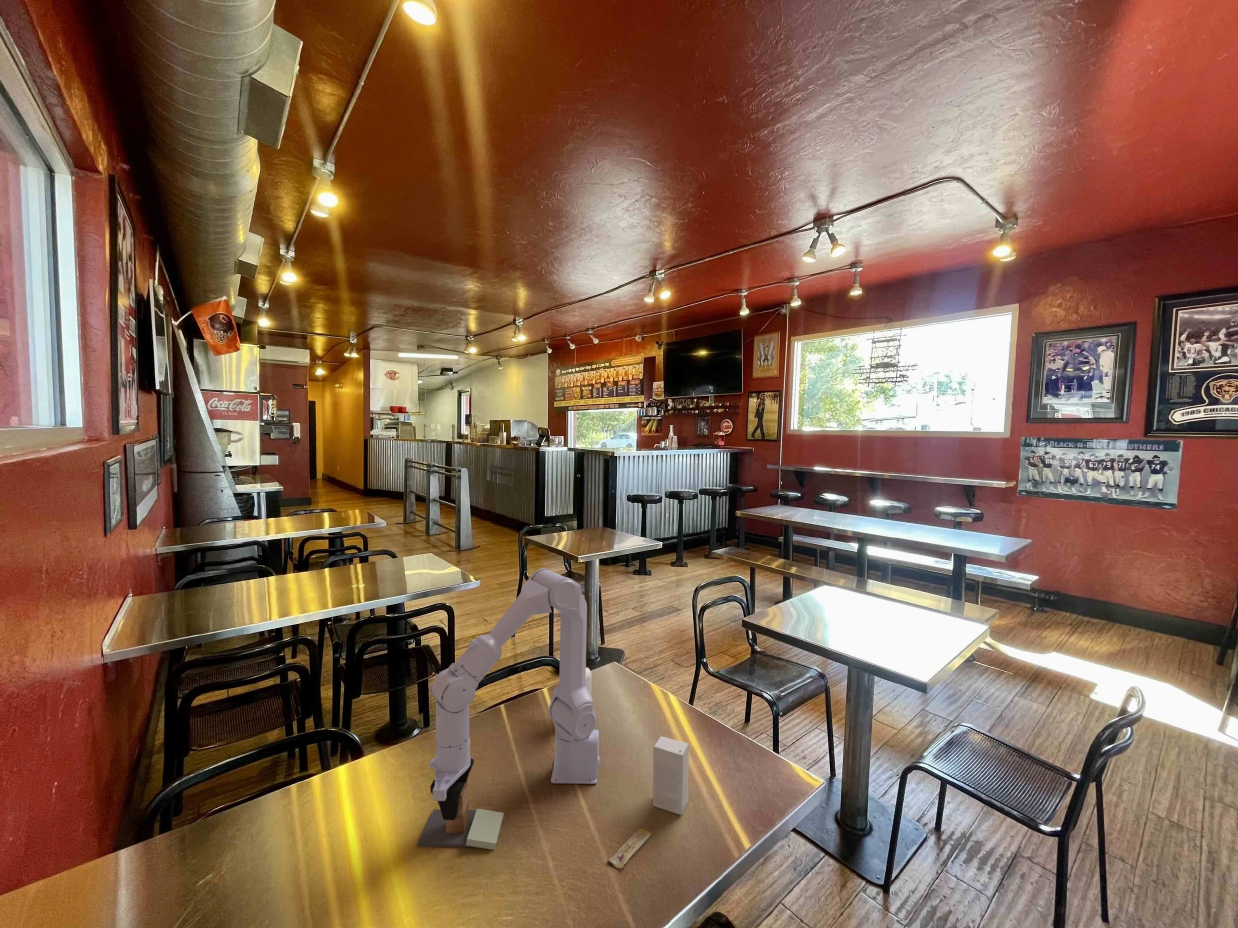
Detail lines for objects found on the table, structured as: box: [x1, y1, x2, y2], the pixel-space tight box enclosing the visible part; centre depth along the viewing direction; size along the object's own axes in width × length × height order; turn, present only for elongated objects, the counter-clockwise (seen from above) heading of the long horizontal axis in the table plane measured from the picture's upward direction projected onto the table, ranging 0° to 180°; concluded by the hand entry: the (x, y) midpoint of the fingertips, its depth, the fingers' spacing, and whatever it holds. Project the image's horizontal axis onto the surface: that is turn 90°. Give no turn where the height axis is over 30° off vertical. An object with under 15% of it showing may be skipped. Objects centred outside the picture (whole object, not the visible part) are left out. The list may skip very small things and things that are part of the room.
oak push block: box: [446, 782, 470, 833], centre depth 93 cm, size 3×3×7 cm
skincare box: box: [652, 735, 690, 816], centre depth 100 cm, size 6×4×12 cm
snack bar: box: [606, 827, 652, 871], centre depth 89 cm, size 10×2×3 cm
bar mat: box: [416, 808, 477, 848], centre depth 93 cm, size 10×8×1 cm
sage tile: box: [466, 808, 505, 851], centre depth 92 cm, size 1×7×5 cm
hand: (453, 810), depth 93 cm, fingers closed on oak push block, 3 cm apart
